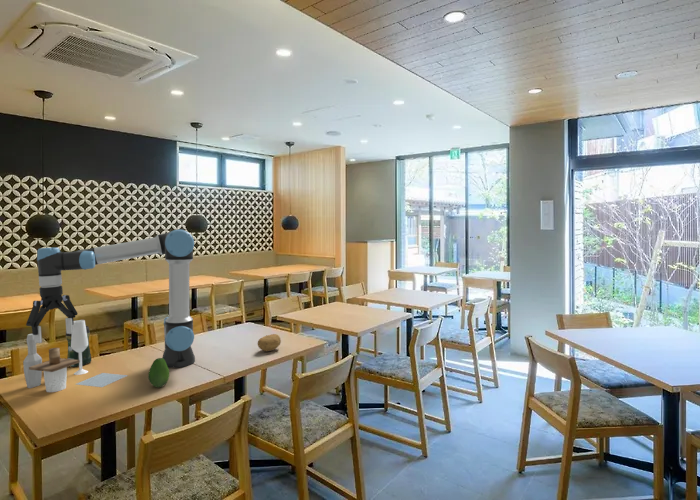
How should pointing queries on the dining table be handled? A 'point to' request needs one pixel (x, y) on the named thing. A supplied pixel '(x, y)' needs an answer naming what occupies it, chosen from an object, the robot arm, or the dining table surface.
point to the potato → (269, 342)
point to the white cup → (55, 380)
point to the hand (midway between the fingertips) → (54, 337)
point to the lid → (54, 362)
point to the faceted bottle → (32, 364)
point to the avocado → (158, 373)
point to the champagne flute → (79, 342)
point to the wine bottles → (75, 355)
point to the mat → (101, 380)
